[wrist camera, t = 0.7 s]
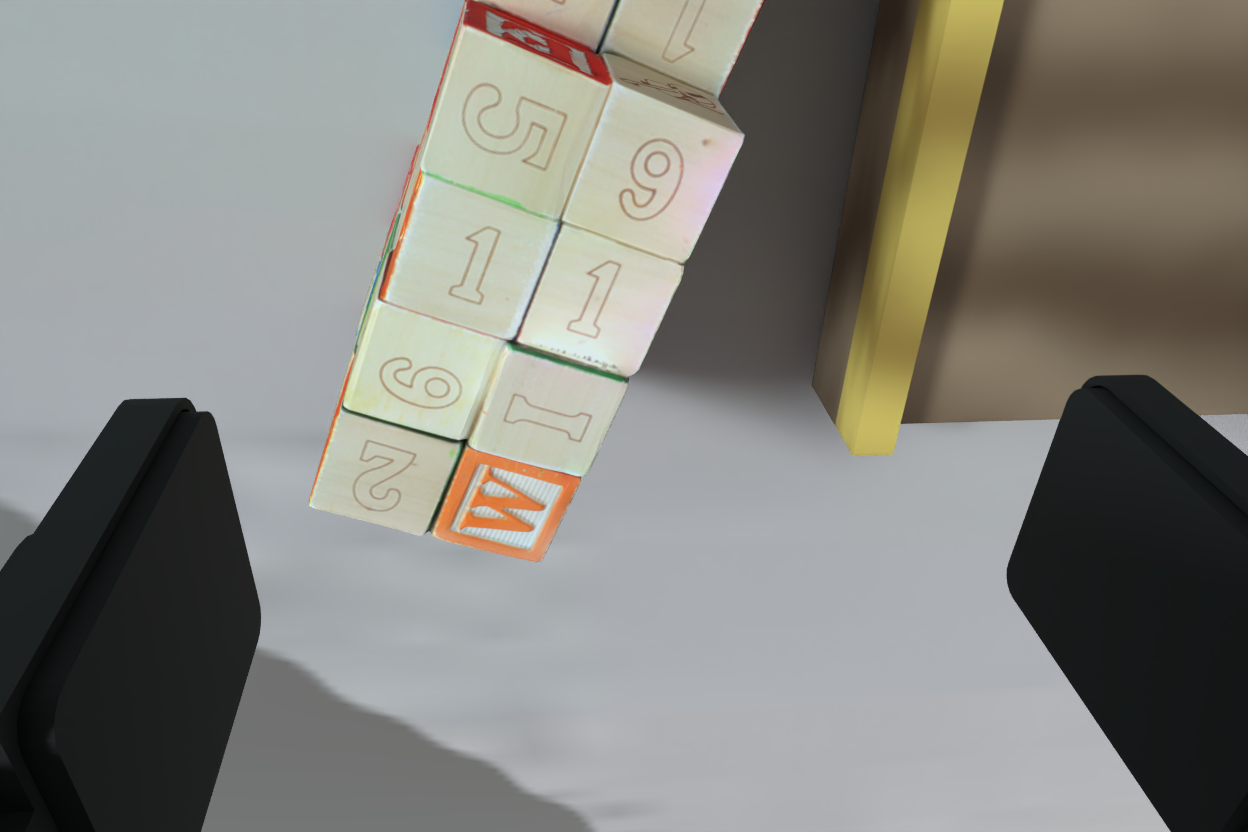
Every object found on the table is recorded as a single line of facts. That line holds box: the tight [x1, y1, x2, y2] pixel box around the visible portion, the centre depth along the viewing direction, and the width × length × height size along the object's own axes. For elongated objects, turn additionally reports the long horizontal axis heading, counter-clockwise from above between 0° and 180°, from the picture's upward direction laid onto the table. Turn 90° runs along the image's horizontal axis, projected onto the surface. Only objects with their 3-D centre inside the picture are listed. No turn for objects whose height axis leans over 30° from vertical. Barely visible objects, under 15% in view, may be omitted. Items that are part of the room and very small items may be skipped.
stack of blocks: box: [309, 0, 765, 562], centre depth 23 cm, size 21×6×12 cm, turn 156°
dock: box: [812, 0, 1248, 456], centre depth 29 cm, size 25×19×5 cm
